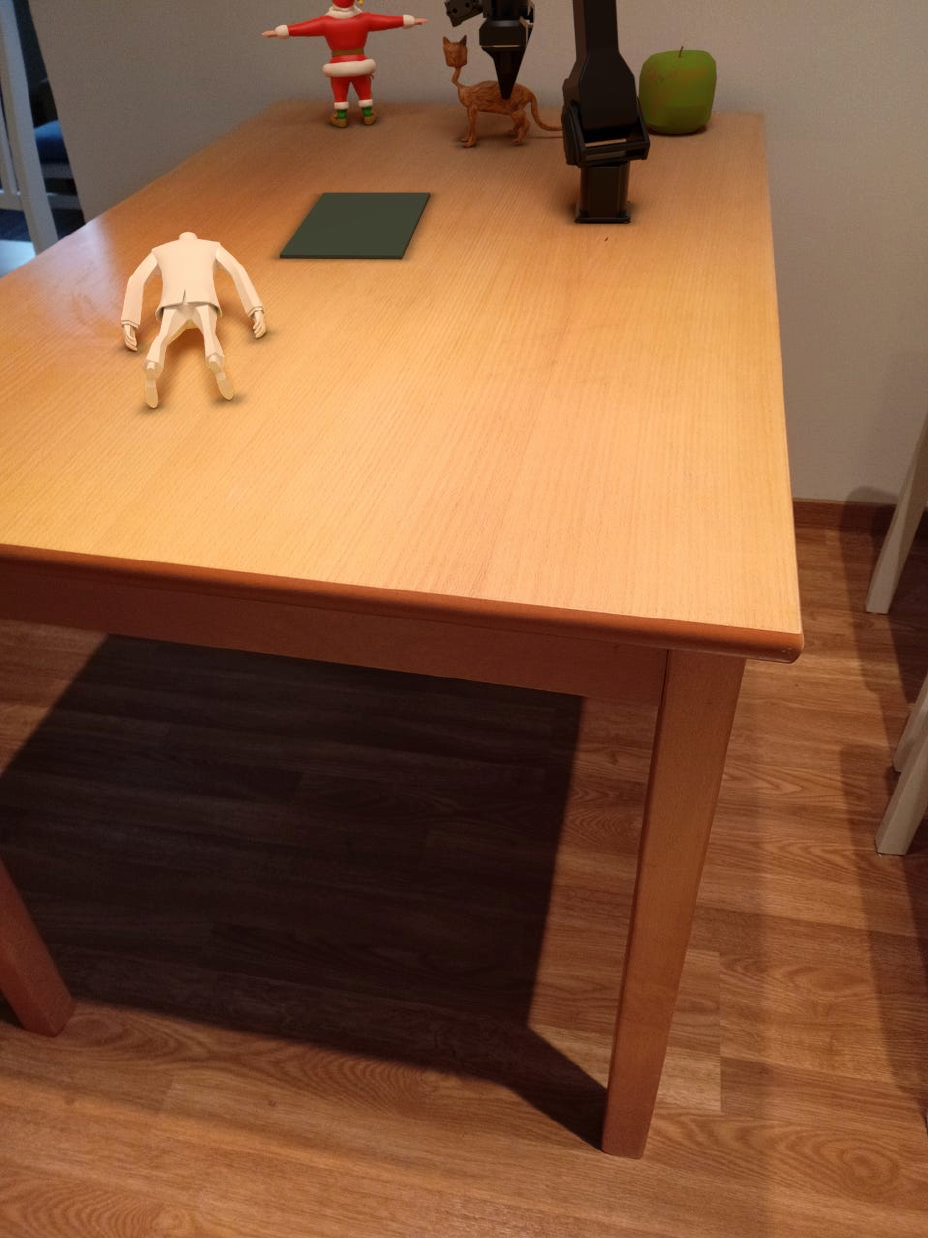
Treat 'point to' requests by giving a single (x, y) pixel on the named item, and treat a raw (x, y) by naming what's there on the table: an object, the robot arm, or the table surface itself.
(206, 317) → the male figurine
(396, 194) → the mat
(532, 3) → the robot arm
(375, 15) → the santa figurine
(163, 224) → the table surface
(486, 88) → the cat figurine
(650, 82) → the apple
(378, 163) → the table surface
